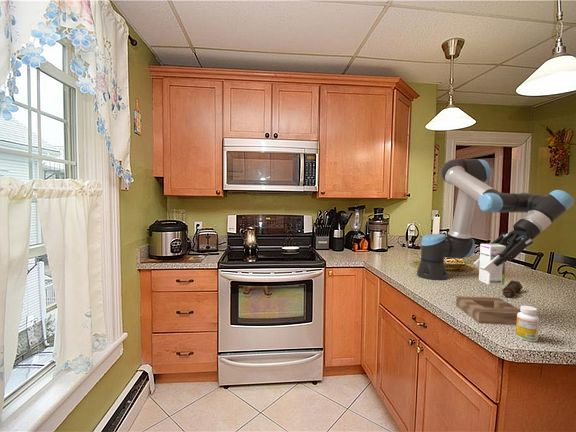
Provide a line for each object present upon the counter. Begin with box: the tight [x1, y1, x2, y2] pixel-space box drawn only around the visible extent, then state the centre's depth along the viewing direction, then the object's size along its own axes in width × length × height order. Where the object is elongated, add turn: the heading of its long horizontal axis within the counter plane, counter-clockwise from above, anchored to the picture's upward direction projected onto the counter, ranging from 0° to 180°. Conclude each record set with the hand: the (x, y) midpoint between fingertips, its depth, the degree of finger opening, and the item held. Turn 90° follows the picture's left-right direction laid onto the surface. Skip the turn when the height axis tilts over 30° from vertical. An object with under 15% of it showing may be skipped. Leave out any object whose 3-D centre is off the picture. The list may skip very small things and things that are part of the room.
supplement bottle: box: [515, 305, 540, 343], centre depth 91 cm, size 5×5×10 cm
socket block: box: [455, 295, 521, 325], centre depth 109 cm, size 16×16×4 cm
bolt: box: [501, 280, 523, 298], centre depth 133 cm, size 6×5×15 cm
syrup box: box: [478, 243, 506, 286], centre depth 108 cm, size 6×6×14 cm
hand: (481, 268), depth 108 cm, fingers closed on syrup box, 6 cm apart
